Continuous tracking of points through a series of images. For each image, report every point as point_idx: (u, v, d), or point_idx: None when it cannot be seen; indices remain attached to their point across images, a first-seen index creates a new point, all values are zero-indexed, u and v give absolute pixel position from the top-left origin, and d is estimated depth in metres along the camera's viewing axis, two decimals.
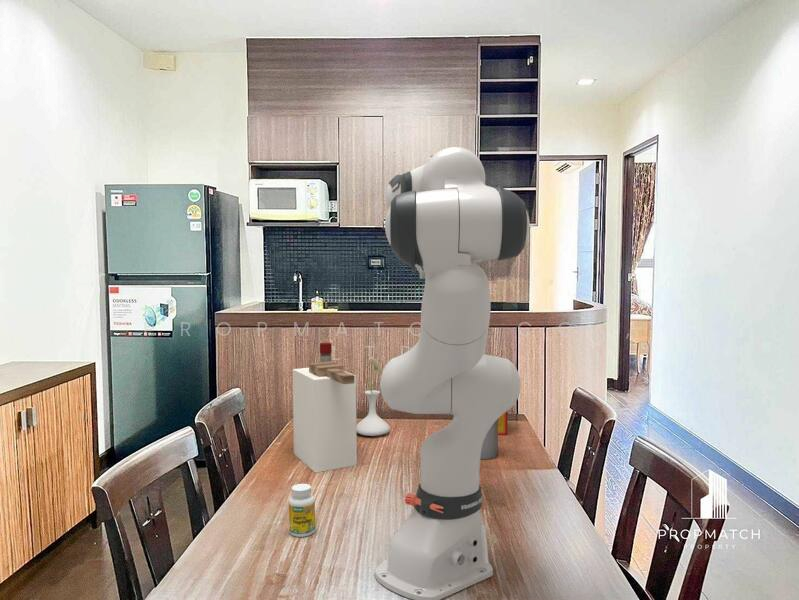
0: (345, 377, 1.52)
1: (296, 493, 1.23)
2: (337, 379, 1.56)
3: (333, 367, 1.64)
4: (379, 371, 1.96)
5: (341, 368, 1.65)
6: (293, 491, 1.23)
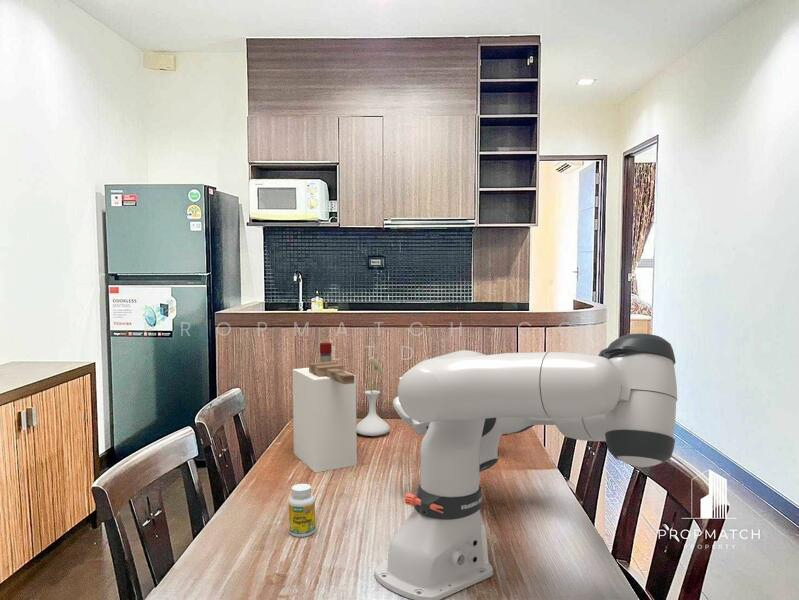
0: (345, 377, 1.52)
1: (296, 493, 1.23)
2: (337, 379, 1.56)
3: (333, 367, 1.64)
4: (379, 371, 1.96)
5: (341, 368, 1.65)
6: (293, 491, 1.23)
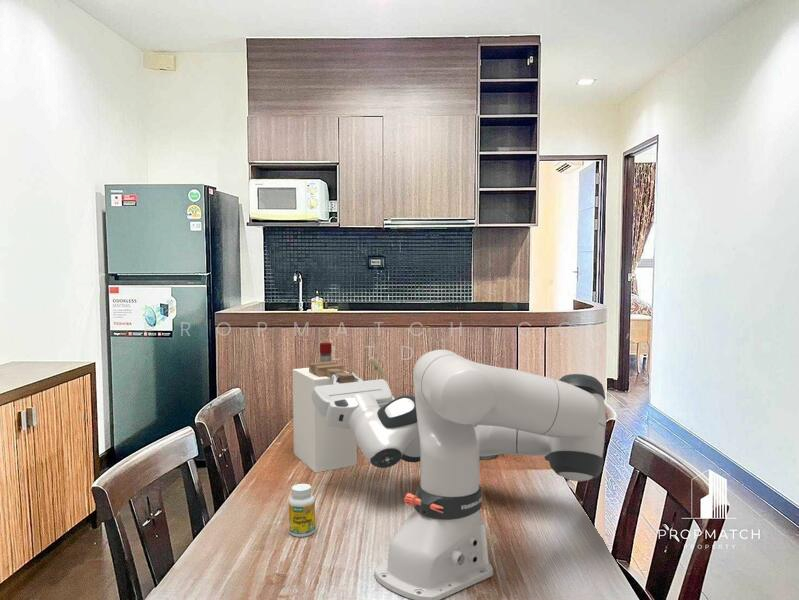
0: (345, 377, 1.52)
1: (296, 493, 1.23)
2: None
3: (333, 367, 1.64)
4: (379, 371, 1.96)
5: (341, 368, 1.65)
6: (293, 491, 1.23)
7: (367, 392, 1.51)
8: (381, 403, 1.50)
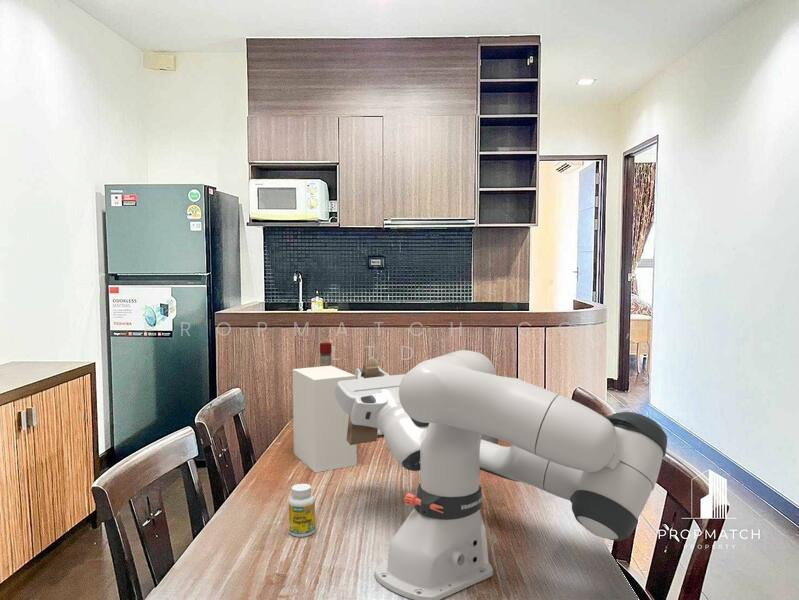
0: (366, 365, 1.41)
1: (296, 493, 1.23)
2: None
3: None
4: None
5: None
6: (293, 491, 1.23)
7: (395, 388, 1.37)
8: None
